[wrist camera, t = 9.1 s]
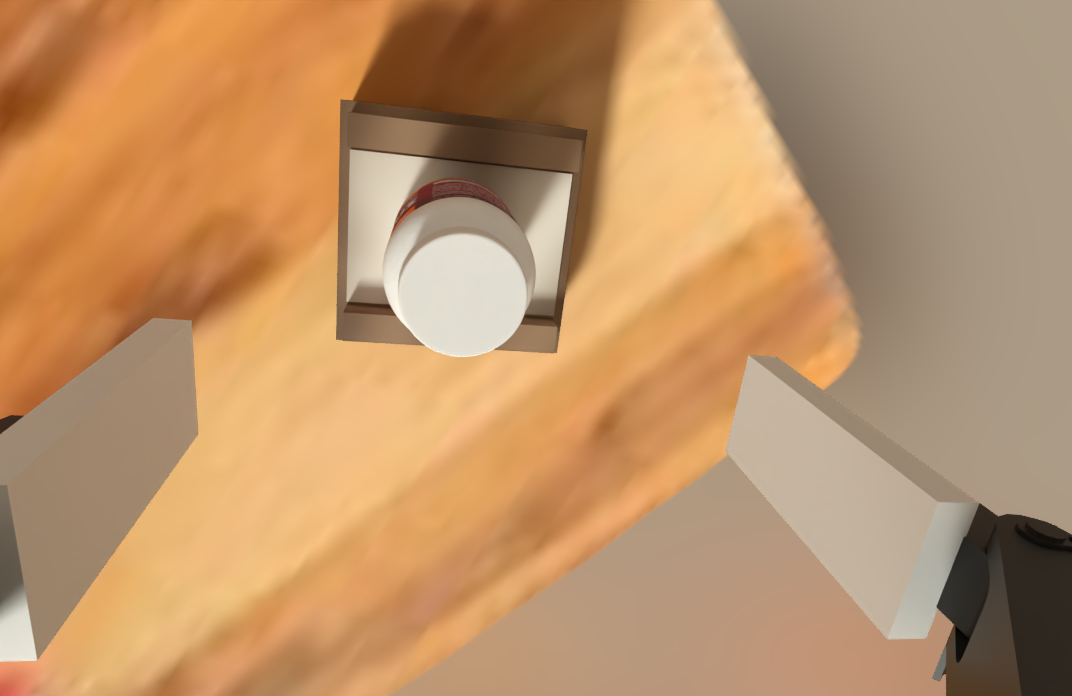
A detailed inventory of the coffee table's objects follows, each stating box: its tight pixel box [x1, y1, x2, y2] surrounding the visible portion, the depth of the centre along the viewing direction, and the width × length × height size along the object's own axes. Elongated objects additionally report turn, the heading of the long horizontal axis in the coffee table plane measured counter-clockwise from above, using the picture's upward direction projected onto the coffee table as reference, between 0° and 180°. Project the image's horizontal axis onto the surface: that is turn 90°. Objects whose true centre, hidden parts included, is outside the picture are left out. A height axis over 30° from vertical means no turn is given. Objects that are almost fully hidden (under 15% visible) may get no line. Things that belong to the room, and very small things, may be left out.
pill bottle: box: [382, 177, 536, 357], centre depth 28 cm, size 6×6×11 cm
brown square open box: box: [336, 100, 587, 353], centre depth 35 cm, size 12×12×6 cm
